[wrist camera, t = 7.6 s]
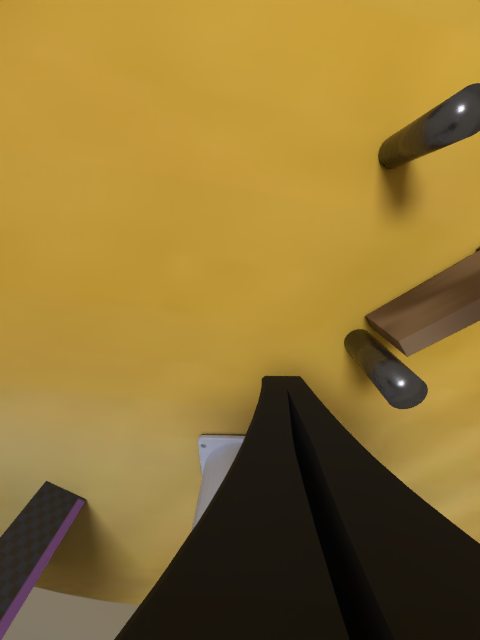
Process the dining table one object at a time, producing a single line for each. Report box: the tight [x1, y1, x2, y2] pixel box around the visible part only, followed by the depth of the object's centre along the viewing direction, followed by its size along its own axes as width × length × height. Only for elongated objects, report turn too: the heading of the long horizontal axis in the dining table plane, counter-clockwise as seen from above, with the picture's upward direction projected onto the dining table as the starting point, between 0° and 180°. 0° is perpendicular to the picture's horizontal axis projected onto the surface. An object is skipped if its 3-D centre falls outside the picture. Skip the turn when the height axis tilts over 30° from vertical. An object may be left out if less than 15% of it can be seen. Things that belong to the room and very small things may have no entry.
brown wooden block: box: [366, 250, 480, 357], centre depth 14 cm, size 8×2×4 cm, turn 126°
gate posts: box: [344, 83, 480, 409], centre depth 13 cm, size 14×2×6 cm, turn 1°
